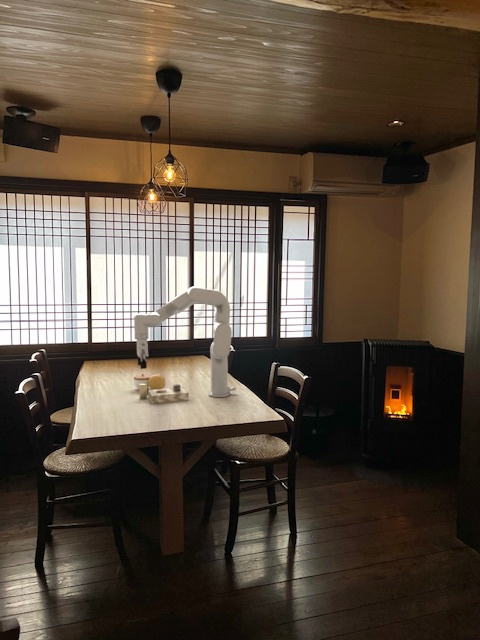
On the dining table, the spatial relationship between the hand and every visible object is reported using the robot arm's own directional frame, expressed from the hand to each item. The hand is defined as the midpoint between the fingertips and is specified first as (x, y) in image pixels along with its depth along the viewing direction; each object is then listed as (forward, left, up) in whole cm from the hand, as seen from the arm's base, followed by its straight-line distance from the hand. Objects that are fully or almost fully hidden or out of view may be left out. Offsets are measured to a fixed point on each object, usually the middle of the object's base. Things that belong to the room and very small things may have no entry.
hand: (142, 366), depth 261 cm
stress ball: (-10, -13, -18) cm, 25 cm away
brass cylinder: (0, 0, -18) cm, 18 cm away
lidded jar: (-3, -21, -18) cm, 28 cm away
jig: (-13, +5, -18) cm, 23 cm away
